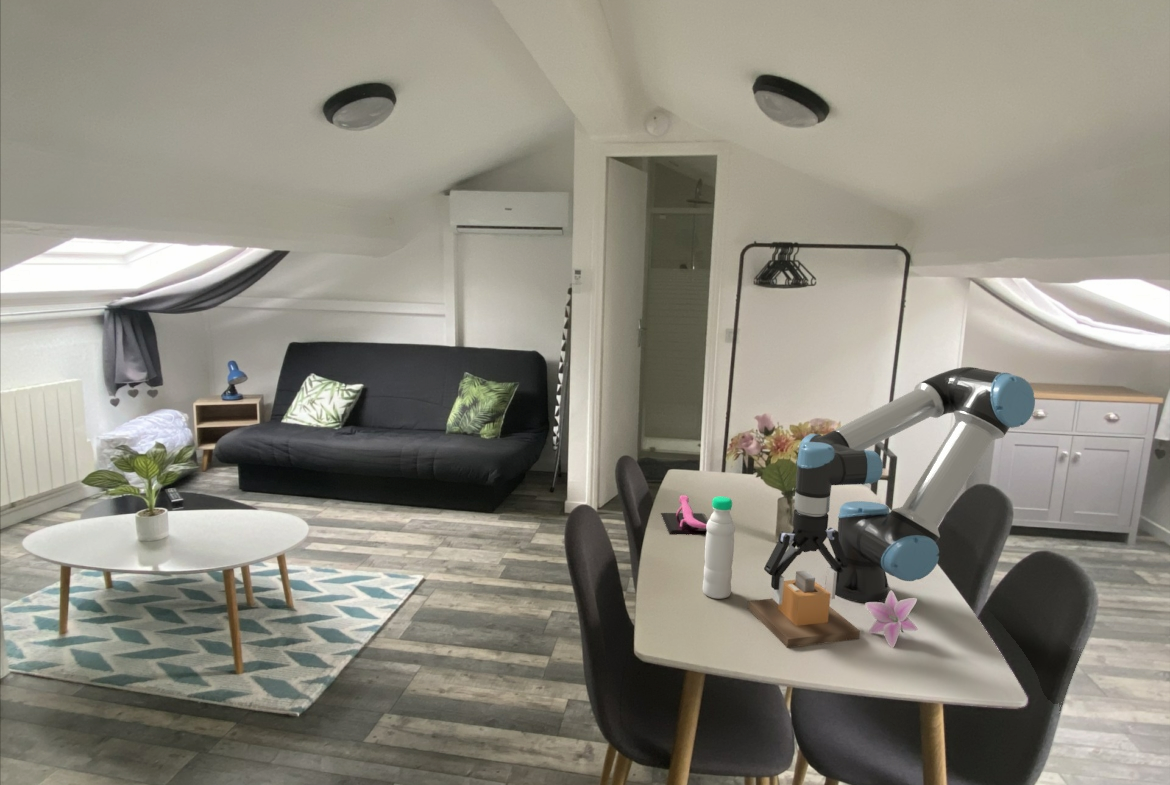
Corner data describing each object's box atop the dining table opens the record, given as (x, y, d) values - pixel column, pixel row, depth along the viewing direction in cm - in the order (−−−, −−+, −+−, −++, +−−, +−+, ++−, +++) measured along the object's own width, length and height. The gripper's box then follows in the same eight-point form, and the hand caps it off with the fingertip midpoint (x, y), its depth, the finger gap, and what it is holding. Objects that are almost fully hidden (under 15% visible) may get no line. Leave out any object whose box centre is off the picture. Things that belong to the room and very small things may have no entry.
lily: (861, 622, 164) (853, 595, 160) (909, 607, 163) (903, 579, 158) (883, 664, 153) (876, 635, 149) (936, 647, 152) (930, 618, 148)
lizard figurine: (702, 514, 234) (704, 493, 233) (716, 537, 214) (717, 514, 213) (660, 514, 233) (661, 493, 232) (669, 536, 213) (670, 513, 212)
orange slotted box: (827, 622, 157) (830, 592, 156) (796, 625, 155) (799, 595, 154) (808, 605, 165) (810, 577, 164) (778, 609, 163) (780, 579, 162)
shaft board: (813, 601, 172) (817, 556, 170) (859, 638, 154) (864, 588, 152) (747, 608, 167) (751, 561, 165) (787, 647, 150) (791, 595, 148)
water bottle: (709, 601, 170) (715, 504, 166) (697, 588, 177) (703, 494, 173) (735, 598, 172) (742, 502, 168) (722, 586, 179) (728, 493, 175)
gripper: (849, 502, 163) (841, 586, 166) (752, 509, 157) (747, 596, 160) (869, 513, 156) (861, 601, 159) (769, 520, 149) (763, 612, 153)
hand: (803, 599), depth 160 cm, fingers open, 13 cm apart
